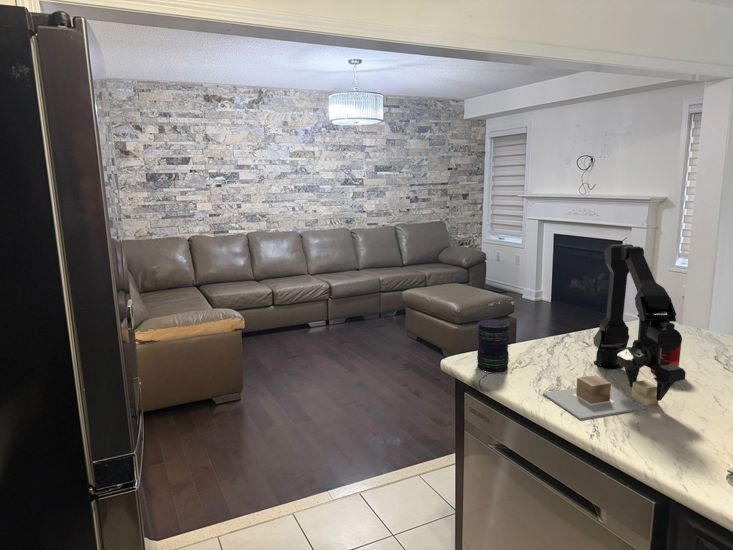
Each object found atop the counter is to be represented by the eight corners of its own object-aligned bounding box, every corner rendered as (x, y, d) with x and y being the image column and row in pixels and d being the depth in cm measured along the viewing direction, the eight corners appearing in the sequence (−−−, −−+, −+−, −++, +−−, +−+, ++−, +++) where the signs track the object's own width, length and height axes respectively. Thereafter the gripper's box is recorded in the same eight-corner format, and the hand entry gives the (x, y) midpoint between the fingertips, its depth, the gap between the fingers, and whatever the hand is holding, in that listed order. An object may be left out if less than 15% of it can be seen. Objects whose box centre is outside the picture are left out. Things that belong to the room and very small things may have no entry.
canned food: (674, 368, 160) (678, 335, 157) (681, 378, 152) (684, 343, 150) (647, 366, 162) (650, 333, 160) (652, 375, 155) (655, 341, 153)
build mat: (602, 385, 148) (602, 384, 148) (645, 409, 133) (645, 407, 133) (542, 394, 143) (542, 392, 143) (580, 419, 128) (580, 418, 128)
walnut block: (594, 391, 143) (595, 375, 142) (609, 400, 137) (611, 383, 136) (576, 394, 141) (577, 377, 140) (590, 403, 135) (592, 386, 134)
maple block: (644, 396, 140) (646, 379, 139) (658, 403, 136) (659, 386, 135) (631, 399, 139) (632, 382, 138) (644, 406, 135) (645, 388, 134)
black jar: (470, 366, 165) (471, 322, 162) (490, 359, 171) (491, 316, 168) (495, 375, 157) (496, 329, 154) (514, 368, 163) (516, 323, 160)
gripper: (599, 331, 141) (596, 384, 144) (653, 352, 123) (648, 412, 126) (632, 327, 144) (628, 379, 147) (690, 348, 126) (683, 406, 129)
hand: (645, 393), depth 137 cm, fingers open, 9 cm apart
